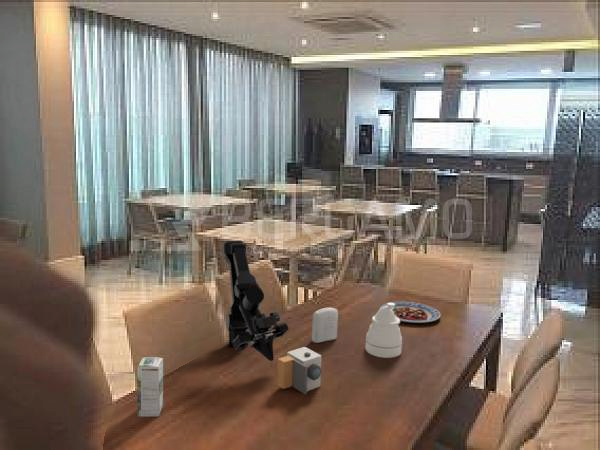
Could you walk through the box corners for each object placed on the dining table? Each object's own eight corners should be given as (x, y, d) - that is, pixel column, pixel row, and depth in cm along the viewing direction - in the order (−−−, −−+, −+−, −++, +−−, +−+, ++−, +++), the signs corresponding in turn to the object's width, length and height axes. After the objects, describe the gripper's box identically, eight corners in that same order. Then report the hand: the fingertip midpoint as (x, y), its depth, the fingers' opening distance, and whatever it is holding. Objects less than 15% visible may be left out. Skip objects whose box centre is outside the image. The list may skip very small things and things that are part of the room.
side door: (277, 385, 151) (278, 358, 150) (287, 381, 154) (288, 355, 152) (295, 397, 144) (296, 369, 143) (306, 393, 147) (307, 366, 146)
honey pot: (408, 350, 182) (411, 303, 179) (388, 361, 173) (391, 311, 170) (378, 340, 191) (381, 294, 188) (358, 349, 182) (361, 301, 178)
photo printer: (331, 335, 194) (333, 304, 192) (338, 339, 190) (340, 307, 188) (309, 340, 188) (311, 308, 186) (316, 344, 185) (317, 312, 183)
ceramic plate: (447, 314, 223) (448, 307, 222) (428, 331, 202) (429, 324, 201) (393, 302, 237) (393, 296, 236) (370, 317, 215) (370, 311, 214)
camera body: (285, 382, 155) (286, 350, 153) (303, 376, 160) (304, 344, 158) (306, 395, 148) (307, 362, 146) (324, 388, 152) (325, 356, 150)
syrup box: (142, 406, 139) (141, 356, 137) (163, 405, 140) (163, 356, 137) (137, 417, 133) (136, 366, 131) (160, 417, 134) (159, 366, 132)
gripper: (238, 310, 151) (258, 358, 145) (286, 299, 163) (307, 342, 157) (224, 326, 159) (242, 372, 153) (271, 314, 171) (290, 356, 164)
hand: (271, 360), depth 156 cm, fingers closed
